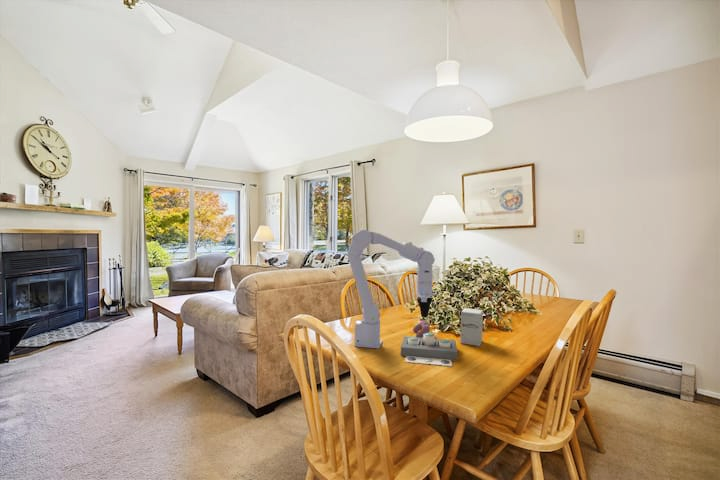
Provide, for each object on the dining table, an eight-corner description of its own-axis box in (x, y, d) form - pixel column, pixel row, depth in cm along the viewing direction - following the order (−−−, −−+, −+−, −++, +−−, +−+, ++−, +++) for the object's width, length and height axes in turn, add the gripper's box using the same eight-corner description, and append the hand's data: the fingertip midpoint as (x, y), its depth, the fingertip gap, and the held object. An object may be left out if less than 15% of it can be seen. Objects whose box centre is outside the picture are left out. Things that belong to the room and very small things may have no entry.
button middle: (423, 347, 117) (423, 335, 117) (423, 343, 121) (423, 332, 121) (434, 348, 116) (434, 336, 116) (434, 344, 120) (434, 333, 120)
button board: (400, 355, 115) (400, 347, 115) (404, 344, 127) (404, 336, 126) (457, 360, 111) (457, 351, 110) (455, 348, 122) (455, 340, 122)
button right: (438, 354, 116) (439, 342, 116) (438, 350, 120) (439, 338, 120) (450, 355, 115) (450, 343, 115) (450, 351, 119) (450, 339, 119)
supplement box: (459, 343, 127) (460, 311, 127) (463, 338, 134) (463, 307, 134) (480, 346, 124) (480, 313, 124) (482, 341, 131) (483, 309, 130)
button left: (407, 351, 118) (407, 339, 118) (408, 347, 122) (408, 336, 122) (418, 352, 117) (418, 340, 117) (419, 348, 121) (419, 337, 121)
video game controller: (425, 342, 133) (433, 327, 133) (415, 337, 133) (423, 322, 133) (421, 335, 143) (428, 320, 143) (411, 330, 143) (419, 316, 143)
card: (405, 362, 109) (405, 361, 109) (406, 356, 114) (406, 355, 114) (451, 366, 106) (451, 365, 106) (451, 360, 111) (451, 359, 111)
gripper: (435, 285, 119) (434, 322, 119) (435, 279, 133) (435, 312, 133) (415, 284, 120) (415, 321, 121) (417, 278, 134) (417, 311, 135)
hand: (424, 316), depth 127 cm, fingers closed
